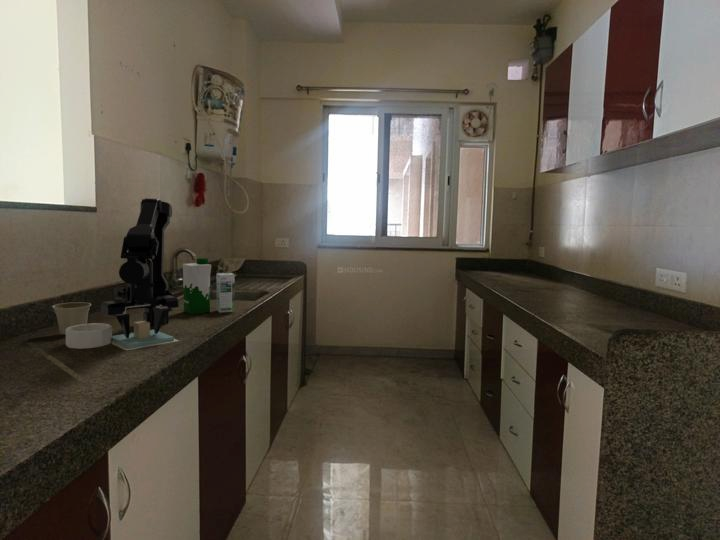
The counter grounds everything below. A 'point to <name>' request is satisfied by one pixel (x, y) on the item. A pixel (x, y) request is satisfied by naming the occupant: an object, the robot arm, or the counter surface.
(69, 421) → the counter surface
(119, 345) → the mat
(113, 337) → the lid
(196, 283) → the milk carton
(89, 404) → the counter surface
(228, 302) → the syrup box
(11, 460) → the counter surface
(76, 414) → the counter surface
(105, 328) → the bowl
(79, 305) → the flower pot
